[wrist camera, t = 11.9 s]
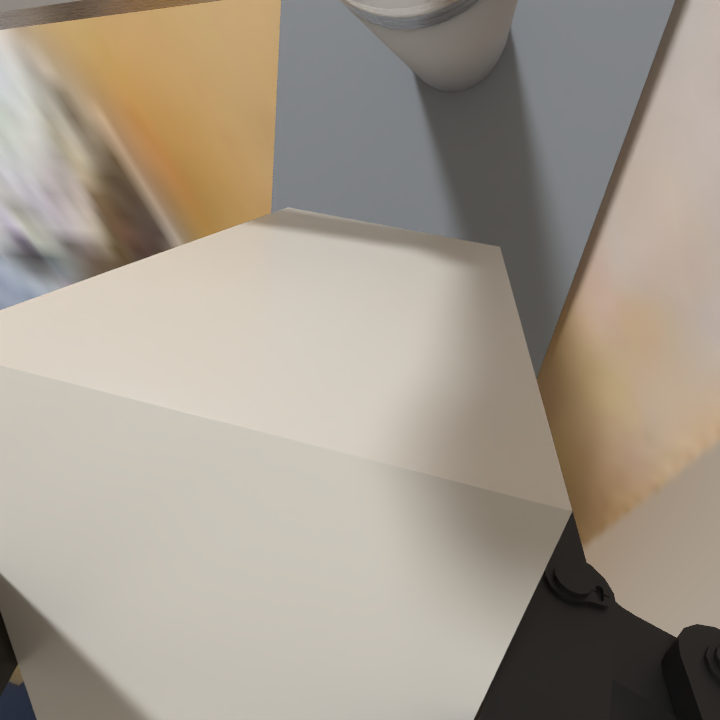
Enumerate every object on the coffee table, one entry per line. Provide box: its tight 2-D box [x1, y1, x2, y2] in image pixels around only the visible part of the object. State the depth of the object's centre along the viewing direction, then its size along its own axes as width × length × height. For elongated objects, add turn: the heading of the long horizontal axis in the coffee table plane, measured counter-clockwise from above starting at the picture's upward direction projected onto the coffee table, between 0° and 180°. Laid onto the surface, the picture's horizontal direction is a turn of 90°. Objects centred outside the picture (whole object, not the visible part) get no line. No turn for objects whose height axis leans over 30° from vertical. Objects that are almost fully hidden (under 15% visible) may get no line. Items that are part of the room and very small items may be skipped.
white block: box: [0, 207, 572, 720], centre depth 10 cm, size 8×6×10 cm
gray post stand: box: [271, 0, 675, 379], centre depth 15 cm, size 26×12×11 cm, turn 171°
